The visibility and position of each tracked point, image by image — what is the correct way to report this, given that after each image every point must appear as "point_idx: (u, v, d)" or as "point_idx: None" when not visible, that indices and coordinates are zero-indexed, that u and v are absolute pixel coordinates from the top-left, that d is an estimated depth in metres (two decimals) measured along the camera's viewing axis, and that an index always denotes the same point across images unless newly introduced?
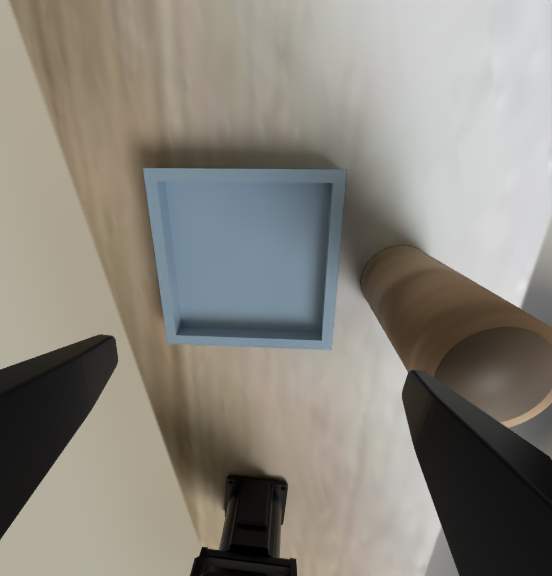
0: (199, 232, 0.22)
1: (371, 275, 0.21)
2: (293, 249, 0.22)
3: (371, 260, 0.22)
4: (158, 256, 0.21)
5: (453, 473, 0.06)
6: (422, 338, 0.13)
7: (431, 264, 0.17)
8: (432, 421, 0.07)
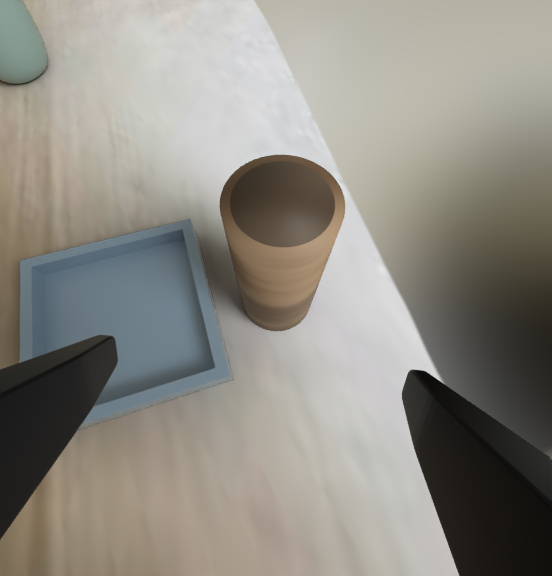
0: (74, 307, 0.23)
1: None
2: (168, 295, 0.23)
3: None
4: (23, 331, 0.20)
5: (453, 473, 0.06)
6: None
7: None
8: (432, 421, 0.07)
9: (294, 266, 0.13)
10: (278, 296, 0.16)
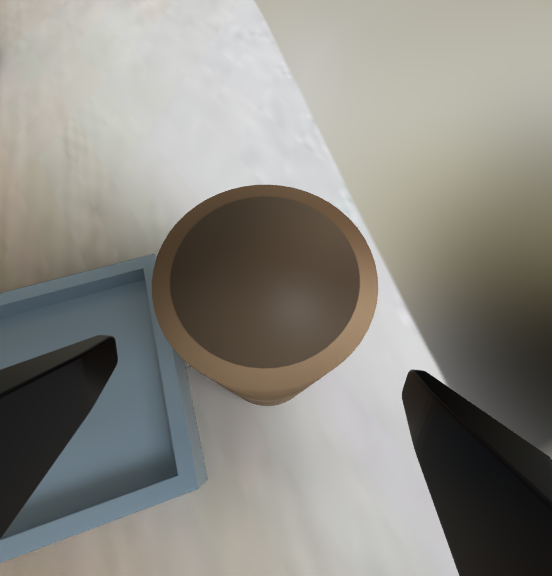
0: None
1: None
2: (123, 357, 0.17)
3: None
4: None
5: (453, 473, 0.06)
6: None
7: None
8: (432, 421, 0.07)
9: (287, 391, 0.07)
10: (263, 399, 0.10)
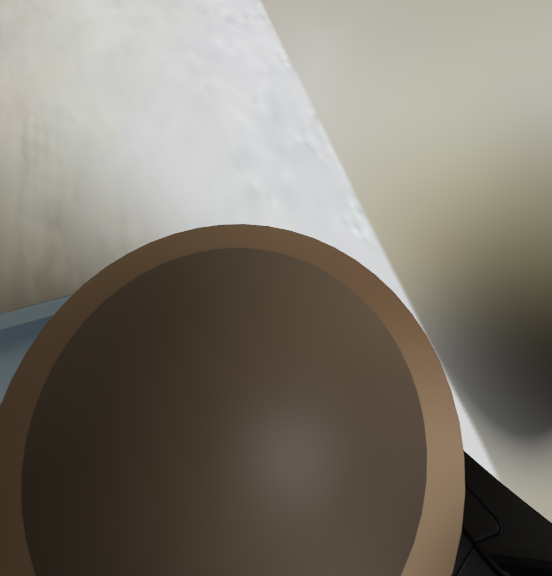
0: None
1: None
2: None
3: None
4: None
5: None
6: None
7: None
8: None
9: None
10: None
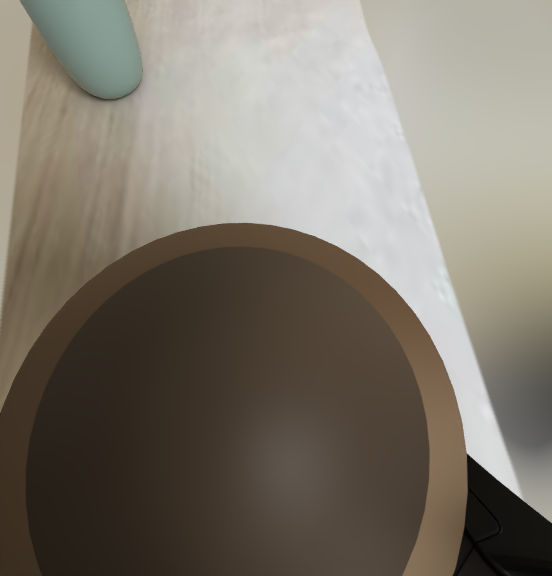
0: None
1: None
2: None
3: None
4: None
5: None
6: None
7: None
8: None
9: None
10: None
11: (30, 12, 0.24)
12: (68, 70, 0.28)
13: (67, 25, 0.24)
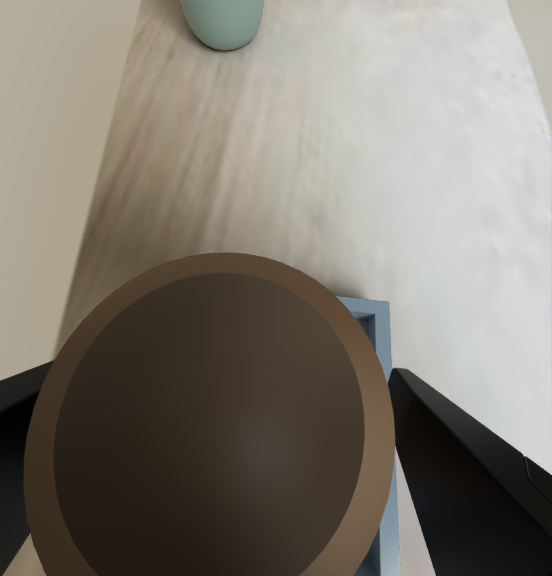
0: None
1: None
2: None
3: None
4: None
5: (430, 470, 0.06)
6: None
7: None
8: (411, 419, 0.07)
9: None
10: None
11: None
12: (188, 9, 0.25)
13: None
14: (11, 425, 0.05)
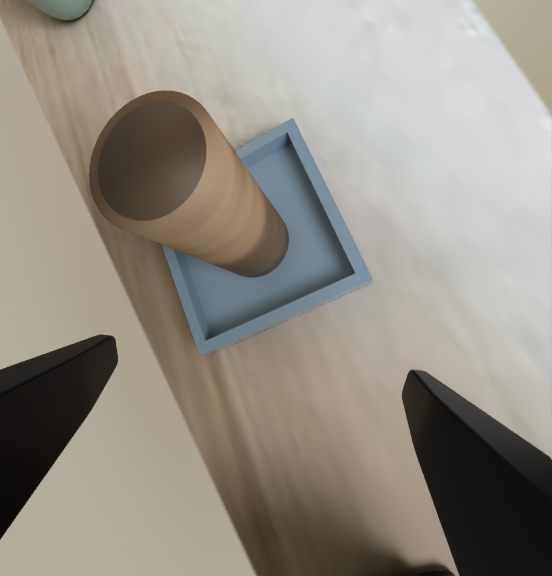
0: None
1: None
2: (286, 209, 0.22)
3: None
4: (171, 265, 0.23)
5: (453, 473, 0.06)
6: None
7: None
8: (432, 421, 0.07)
9: (203, 220, 0.11)
10: (228, 250, 0.15)
11: None
12: (34, 0, 0.28)
13: None
14: None
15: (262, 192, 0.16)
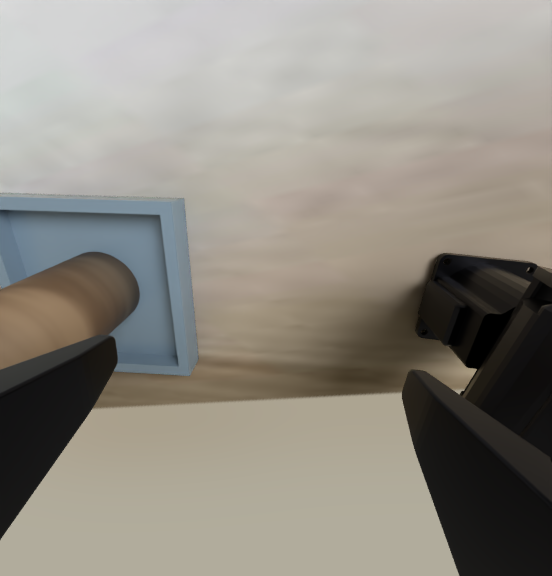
0: None
1: None
2: (78, 242, 0.21)
3: None
4: None
5: (453, 473, 0.06)
6: None
7: None
8: (432, 421, 0.07)
9: None
10: None
11: None
12: None
13: None
14: None
15: (24, 284, 0.15)
